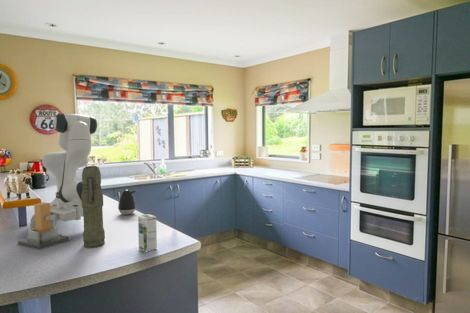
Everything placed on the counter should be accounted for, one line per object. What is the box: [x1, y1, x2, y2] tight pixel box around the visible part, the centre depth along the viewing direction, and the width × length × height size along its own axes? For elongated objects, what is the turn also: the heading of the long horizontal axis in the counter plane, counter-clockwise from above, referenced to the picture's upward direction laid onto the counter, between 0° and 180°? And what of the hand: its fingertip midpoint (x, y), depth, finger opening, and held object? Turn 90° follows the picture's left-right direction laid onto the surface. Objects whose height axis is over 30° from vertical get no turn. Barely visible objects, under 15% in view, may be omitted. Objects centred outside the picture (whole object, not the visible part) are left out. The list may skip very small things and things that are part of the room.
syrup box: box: [137, 213, 158, 253], centre depth 137 cm, size 6×6×14 cm
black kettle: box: [117, 189, 137, 216], centre depth 200 cm, size 10×10×15 cm
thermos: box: [81, 165, 106, 249], centre depth 143 cm, size 9×12×35 cm
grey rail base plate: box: [17, 227, 70, 250], centre depth 148 cm, size 14×16×6 cm
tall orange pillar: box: [33, 202, 51, 232], centre depth 148 cm, size 4×4×14 cm
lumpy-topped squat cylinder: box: [30, 213, 57, 230], centre depth 168 cm, size 10×13×9 cm
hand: (40, 217), depth 147 cm, fingers closed on tall orange pillar, 4 cm apart
